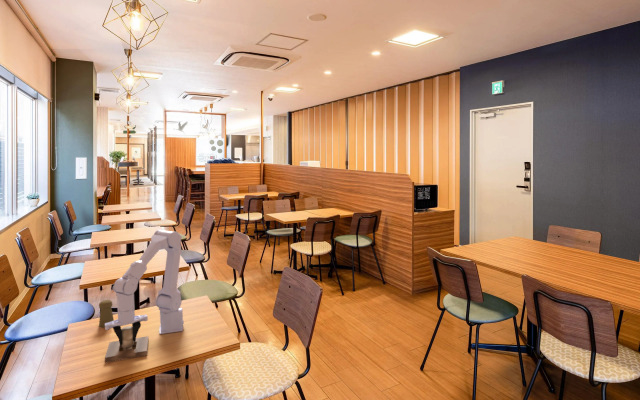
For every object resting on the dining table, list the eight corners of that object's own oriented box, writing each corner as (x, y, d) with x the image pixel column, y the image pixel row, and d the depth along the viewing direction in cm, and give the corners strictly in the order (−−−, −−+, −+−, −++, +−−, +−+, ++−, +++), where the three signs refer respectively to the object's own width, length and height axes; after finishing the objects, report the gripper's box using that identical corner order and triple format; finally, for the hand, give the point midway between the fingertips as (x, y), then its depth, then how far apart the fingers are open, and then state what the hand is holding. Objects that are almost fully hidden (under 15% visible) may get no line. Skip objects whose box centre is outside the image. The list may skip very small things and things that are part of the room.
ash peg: (132, 346, 147) (131, 325, 146) (134, 351, 143) (133, 329, 142) (121, 349, 144) (120, 327, 143) (122, 354, 141) (121, 332, 140)
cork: (107, 328, 162) (106, 304, 160) (95, 326, 163) (94, 302, 162) (117, 322, 168) (116, 299, 166) (106, 320, 169) (104, 297, 167)
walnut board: (148, 340, 152) (148, 336, 152) (147, 355, 141) (146, 350, 141) (109, 346, 147) (109, 342, 146) (105, 362, 136) (104, 357, 135)
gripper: (144, 301, 149) (145, 333, 151) (103, 309, 141) (105, 342, 142) (148, 307, 143) (149, 340, 145) (105, 316, 135) (107, 351, 137)
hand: (127, 342), depth 143 cm, fingers closed on ash peg, 4 cm apart
